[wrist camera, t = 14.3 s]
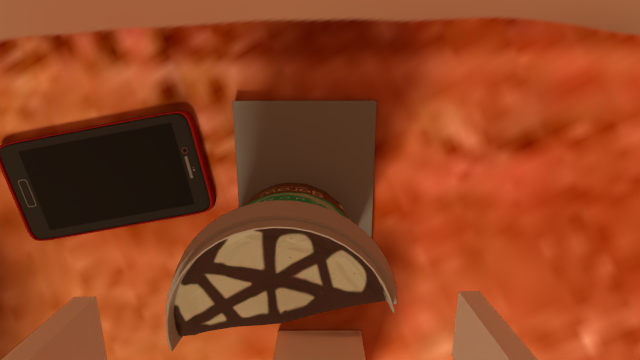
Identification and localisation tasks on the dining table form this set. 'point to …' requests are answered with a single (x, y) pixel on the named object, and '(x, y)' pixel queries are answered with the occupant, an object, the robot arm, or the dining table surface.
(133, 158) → the cell phone
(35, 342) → the robot arm
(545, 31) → the dining table surface
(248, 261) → the food container
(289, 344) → the cup
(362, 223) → the felt pad
